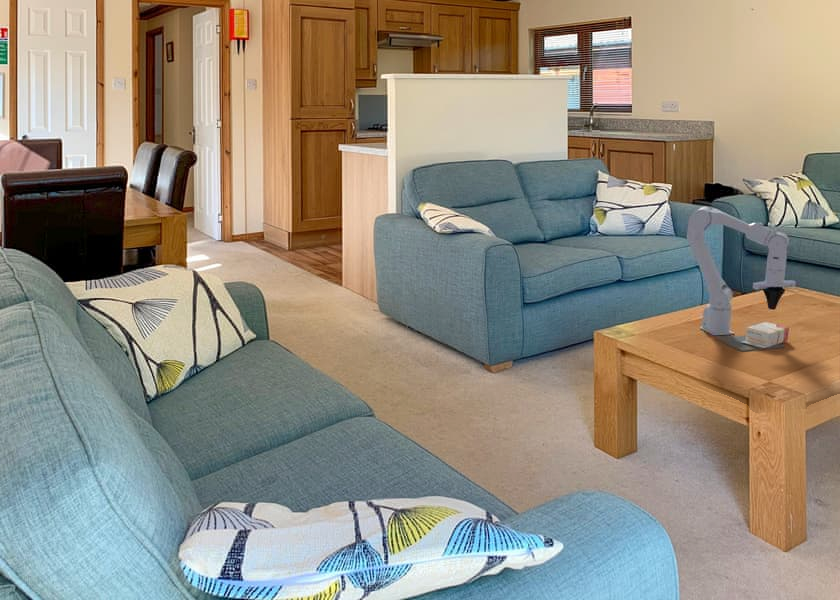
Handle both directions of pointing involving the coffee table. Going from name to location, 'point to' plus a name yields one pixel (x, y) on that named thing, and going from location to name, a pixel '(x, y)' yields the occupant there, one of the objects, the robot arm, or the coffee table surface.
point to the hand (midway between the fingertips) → (771, 308)
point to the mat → (744, 344)
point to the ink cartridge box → (766, 335)
